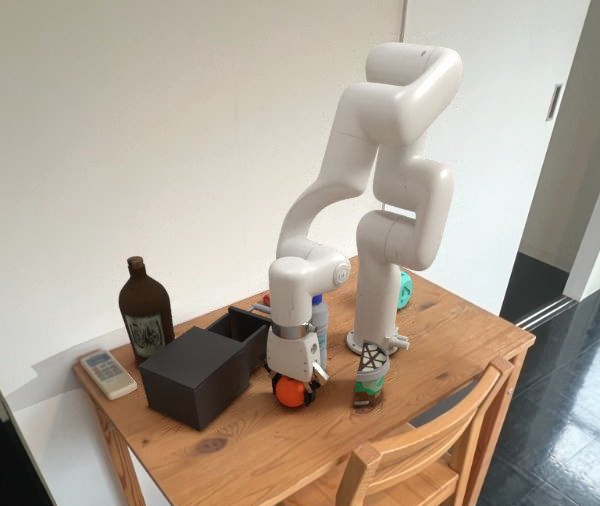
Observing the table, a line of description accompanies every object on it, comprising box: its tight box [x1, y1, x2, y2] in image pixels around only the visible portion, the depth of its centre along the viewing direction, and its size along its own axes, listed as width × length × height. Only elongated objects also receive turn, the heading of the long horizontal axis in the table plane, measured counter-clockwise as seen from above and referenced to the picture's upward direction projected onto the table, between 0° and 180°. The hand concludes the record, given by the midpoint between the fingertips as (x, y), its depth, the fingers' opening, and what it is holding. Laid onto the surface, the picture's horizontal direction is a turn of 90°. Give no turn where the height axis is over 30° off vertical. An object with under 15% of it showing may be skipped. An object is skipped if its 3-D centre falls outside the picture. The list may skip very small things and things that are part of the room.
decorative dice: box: [397, 269, 414, 311], centre depth 137 cm, size 8×8×8 cm
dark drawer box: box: [137, 325, 251, 431], centre depth 107 cm, size 17×14×11 cm
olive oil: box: [117, 255, 176, 366], centre depth 112 cm, size 11×11×25 cm
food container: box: [353, 339, 391, 408], centre depth 107 cm, size 12×6×10 cm, turn 168°
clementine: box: [275, 375, 306, 408], centre depth 106 cm, size 8×7×7 cm
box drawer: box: [204, 302, 271, 375], centre depth 117 cm, size 21×13×9 cm, turn 149°
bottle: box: [312, 294, 330, 374], centre depth 110 cm, size 7×7×20 cm
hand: (293, 396), depth 108 cm, fingers closed on clementine, 7 cm apart
